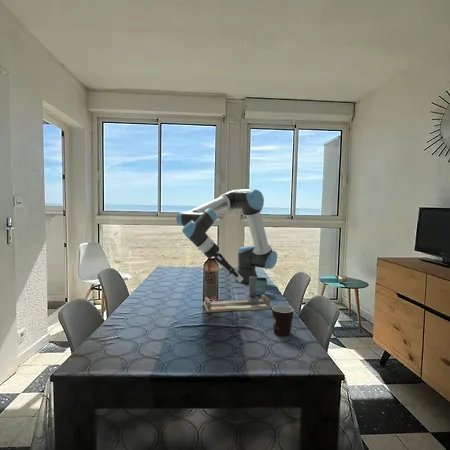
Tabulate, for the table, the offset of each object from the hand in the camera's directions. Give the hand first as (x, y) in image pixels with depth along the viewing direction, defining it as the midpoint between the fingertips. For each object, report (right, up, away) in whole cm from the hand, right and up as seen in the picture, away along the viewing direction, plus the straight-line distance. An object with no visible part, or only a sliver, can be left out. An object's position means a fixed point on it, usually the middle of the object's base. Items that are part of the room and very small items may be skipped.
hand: (238, 277), depth 161 cm
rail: (0, -15, +2) cm, 15 cm away
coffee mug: (+17, -18, -29) cm, 38 cm away
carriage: (+7, -12, +3) cm, 15 cm away
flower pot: (+13, -14, +24) cm, 31 cm away
